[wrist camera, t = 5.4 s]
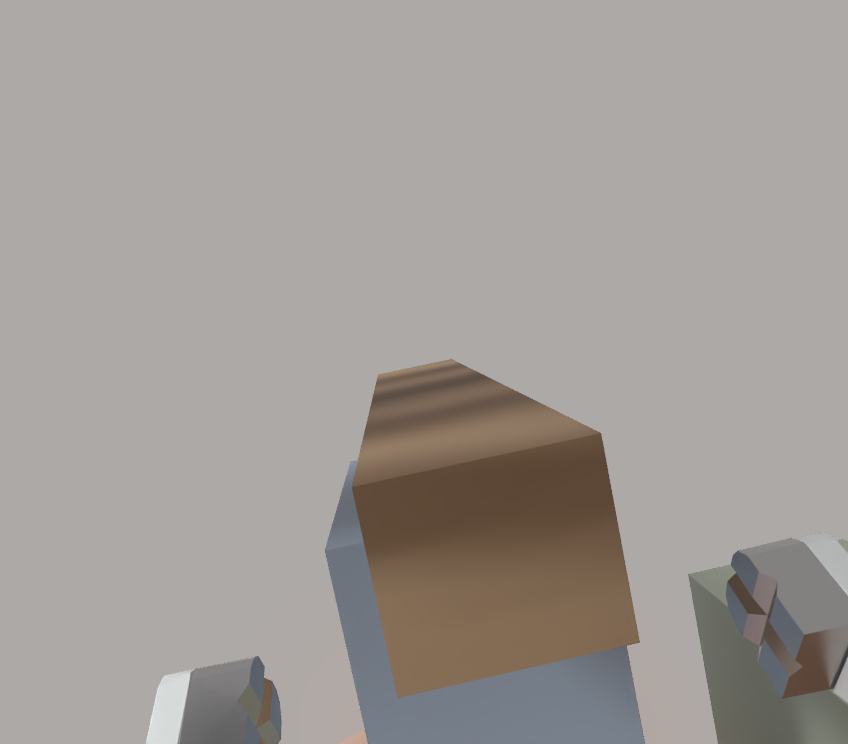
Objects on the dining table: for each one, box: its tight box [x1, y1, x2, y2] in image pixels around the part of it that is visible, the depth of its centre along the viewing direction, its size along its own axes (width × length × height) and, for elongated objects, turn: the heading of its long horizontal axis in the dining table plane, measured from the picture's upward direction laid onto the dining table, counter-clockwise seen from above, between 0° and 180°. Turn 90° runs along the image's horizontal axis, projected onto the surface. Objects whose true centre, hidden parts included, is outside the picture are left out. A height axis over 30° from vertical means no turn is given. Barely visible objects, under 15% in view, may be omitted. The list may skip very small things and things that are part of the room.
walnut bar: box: [352, 359, 640, 698], centre depth 22 cm, size 24×4×4 cm, turn 3°
